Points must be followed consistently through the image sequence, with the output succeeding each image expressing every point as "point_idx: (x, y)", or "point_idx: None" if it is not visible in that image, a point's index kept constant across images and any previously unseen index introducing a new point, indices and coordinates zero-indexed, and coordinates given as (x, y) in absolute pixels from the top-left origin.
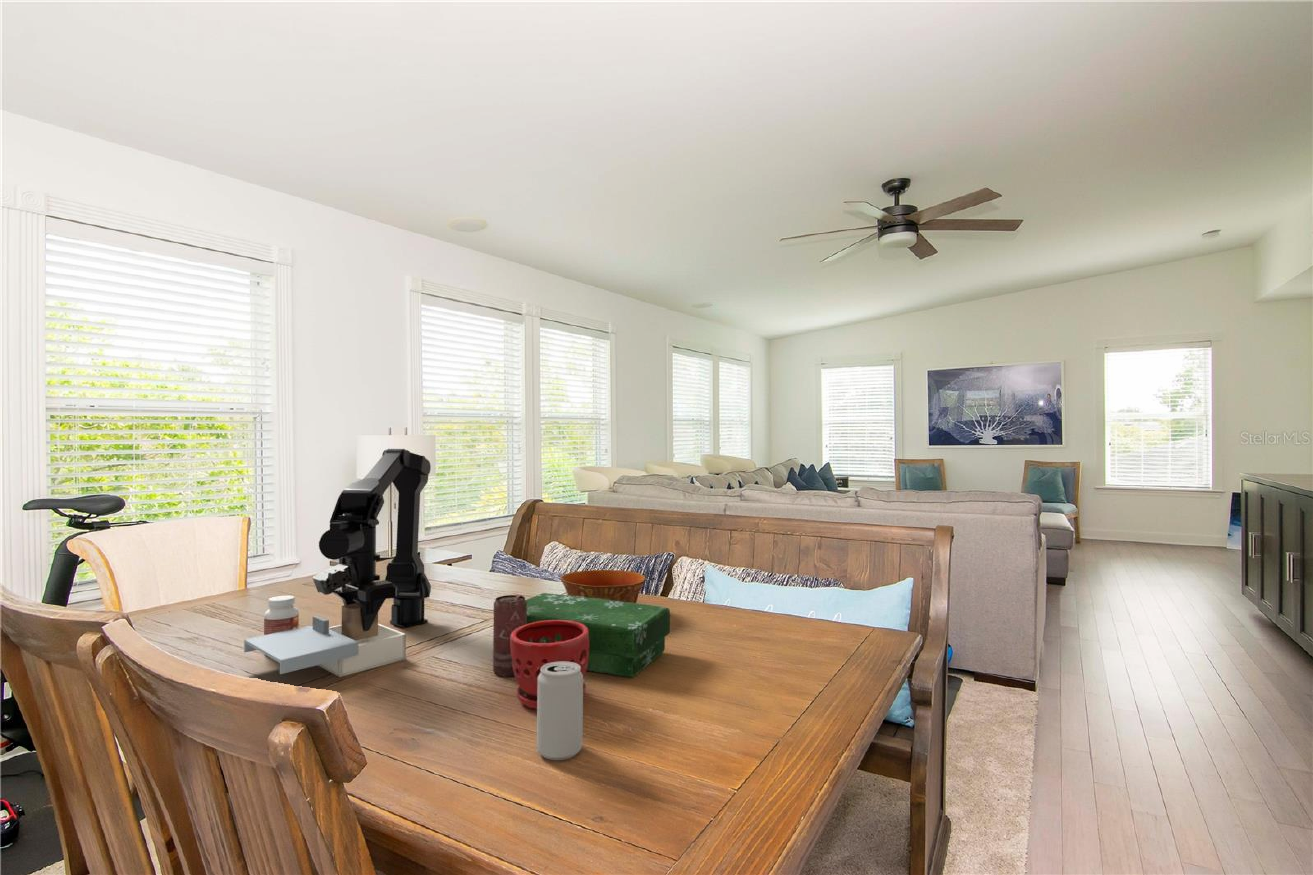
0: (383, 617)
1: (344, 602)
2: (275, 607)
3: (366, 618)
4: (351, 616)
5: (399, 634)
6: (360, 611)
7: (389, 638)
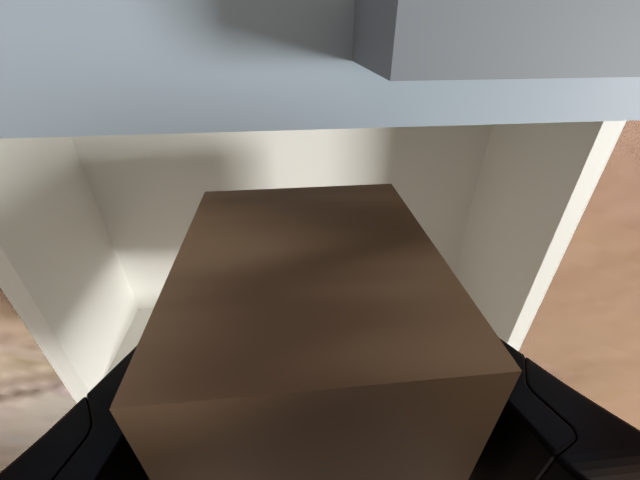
0: (627, 395)
1: (592, 433)
2: None
3: None
4: (203, 321)
5: None
6: (116, 439)
7: (39, 345)
